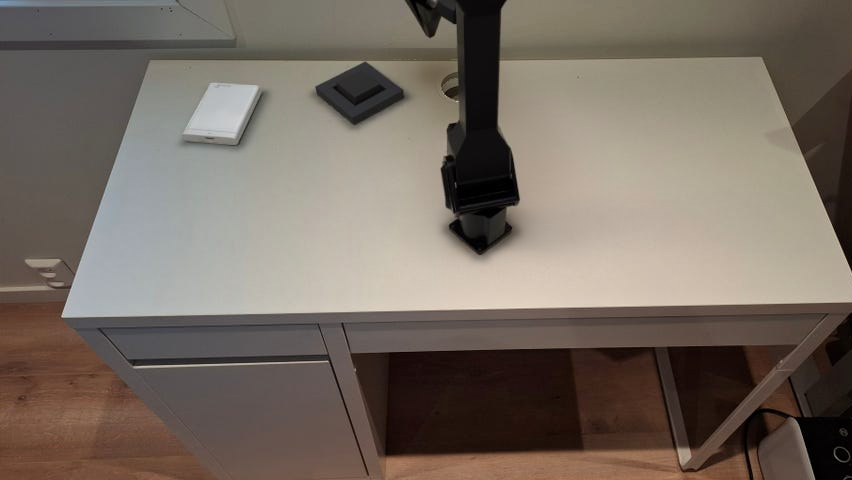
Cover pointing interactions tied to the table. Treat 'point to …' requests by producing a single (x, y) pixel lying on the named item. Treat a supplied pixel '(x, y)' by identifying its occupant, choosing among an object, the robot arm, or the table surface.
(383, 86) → the dark grey square frame
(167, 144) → the table surface
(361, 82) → the black block
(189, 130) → the hard drive
